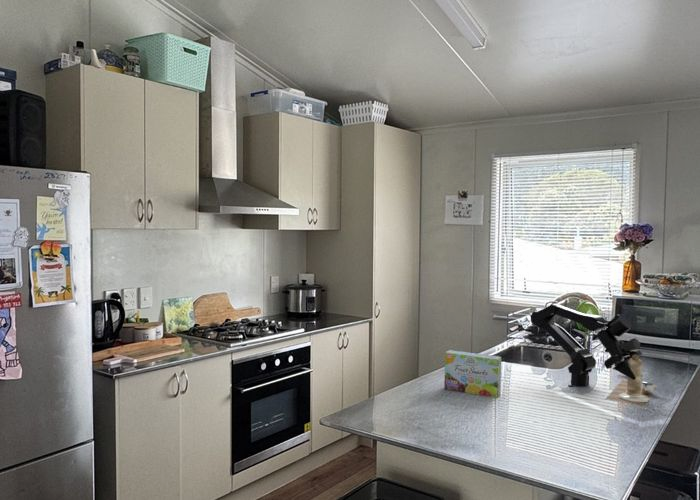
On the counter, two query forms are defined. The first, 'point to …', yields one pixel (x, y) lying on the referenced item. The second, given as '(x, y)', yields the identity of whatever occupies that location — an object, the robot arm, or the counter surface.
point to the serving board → (622, 389)
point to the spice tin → (647, 387)
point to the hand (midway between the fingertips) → (638, 378)
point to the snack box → (472, 373)
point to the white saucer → (634, 398)
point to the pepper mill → (636, 368)
